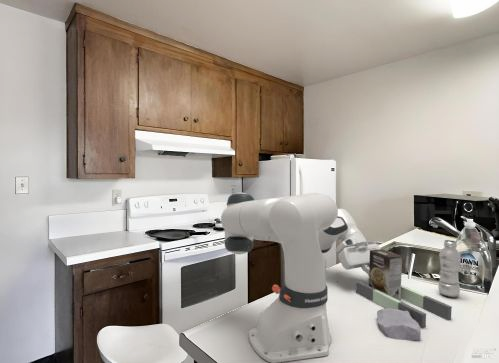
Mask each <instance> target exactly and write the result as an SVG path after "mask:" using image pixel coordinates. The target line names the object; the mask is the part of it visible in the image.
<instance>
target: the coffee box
mask: <svg viewBox="0 0 499 363" xmlns="http://www.w3.org/2000/svg"><path fill="white" fill-rule="evenodd" d="M368 267H369V268H368V269H369V276H368V286H370V287H372V288H374V289H376V290H378V291H380V292H383V293H385V294H387V295H389V296H391V297H393V298H395V299H397V300H399V301H401V299H402V298H401V285H402V271H403V268H402V267H403V255H400V254H399V253H398V254H397V253H395V252H392V251H391V252H390V250H386V249H383V248H381V249H379V250H378V249H377V250H370V263H369V266H368Z"/></svg>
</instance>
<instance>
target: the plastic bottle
mask: <svg viewBox="0 0 499 363" xmlns="http://www.w3.org/2000/svg"><path fill="white" fill-rule="evenodd" d="M457 245H458V244H457V241H456V240H450V239H445V240H444V242H443V248H441V250H440V251H439V254H438V256H439V262H440V263H439V264H440V275H439V281H438V286H437V287H438V291H439V293H440V294H441V295H443V296H444V297H450V298H457V297H459V296H460V292H461V287H460V281H459V280H460V279H459V271H460V270H459V269H460V265H461V264H460V263H461V260H462V257H461V256H462V255H461V254H460V252H459V250H458V249H457V248H458V246H457Z"/></svg>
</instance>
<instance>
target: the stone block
mask: <svg viewBox="0 0 499 363" xmlns="http://www.w3.org/2000/svg"><path fill="white" fill-rule="evenodd" d="M376 315H377V323H378V325H379V328H380V331H381V332H382V333H383V334H384V335H385V336H387V337H388V338H389V339H395V340H398V341H399V340H404V341H405V340H407V341H420V340H421V339H422V338H421V337H422V336H421V335H422V334H421V332H422V330H421V327H420V326H419V324H418V323H417V322H416V321H415V320H414V319H412V317H411V316H410V313H409V312H408V311H401V310H397V309H391V308H390V309H389V308H382V309H378V310H377V311H376Z"/></svg>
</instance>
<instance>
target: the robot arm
mask: <svg viewBox="0 0 499 363" xmlns="http://www.w3.org/2000/svg"><path fill="white" fill-rule="evenodd" d="M221 213H222V214H221V218H220V223H221V226H222V229H223V230H224V241H223V242H224V247H225V249H226V251H227V252H230V253H231V254H233V255H243V254H247V253H249V252H251V251H252V250H253V247H254V244H255V243H254V240H256V241H257V240H258V241H264V242H265V241H267V242H275V243H278V244H280V245H281V247H282V249H283V251H282V252H283V256H284V257H283V258H284V282H283V284H282V287H281V286H279V285H278V284H273V285H272V287H271V290H272V292H274V293H275V294H276V295H278V297H277V298H276V299H275V300H273V302H271V303H270V304H269V306H267V307H266V308H265V309H264V310H263V311H262V312H260V314H259V316H258V320H257V326H256V327H253V328H251V329H249V332H248V341H249V343H250V346H251V348H253V350H254V352H255V353H256V354H257V355H258V356H259V357H260V358H262V359H263V360H265V361H266V362H268V363H284V362H292V361H299V360H304V359H312V358H313V359H314V358H318V357H319V358H320V357H327V356H328V355H329V353H330V351H329V346H330V345H331V344H332V334H331V330H330V326H329V322H328V320H329V319H328V314H327V310H328V309H327V302H328V297H329V296H328V294H329V293H328V285H327V258H326V255H325V254H326V253H328V252H329V251H330V250H331V249H332V247H333V245H334V244H335V243H336V241H337V240H340V241H341V243H340V244H338V246H337V247H336V248H335V253H336V254H338V255H337V257H338V259H339V261H340V264H341V266H342V267H343V269H345V270H353V269H359V268H361V270H362V271H363V272H365V274H367V275H368V277H369V268H368V267H369V263H370V250H377V249H378V250H379V249H382V248H381V247H380V246H379V245H378V244H377V243H375V242H373V241H370V242H368V241H367V239H366V237H365V236H364V234H363V233H362V231H361V230H360V229H359V228H358V224H357V223H356V221H355V219H354V218H353V217H352V215H351V214H350V212H349V211H347V210H346V208H345V209H344V208H338V205H337V203H336V202H335V200H334V199H333V198H332V197H331V196H329V195H326V194H323V193H319V192H313V193H312V192H311V193H310V192H309V193H305V194H303V193H302V194H295V195H288V196H280V197H272V198H262V199H257V200H255V198H254V197H253V195H251V194H248V193H246V192H236V193H232V194H231V195H229V196H228V198H227V201H226V208H225V209H224V210H223V211H222V212H221Z"/></svg>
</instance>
